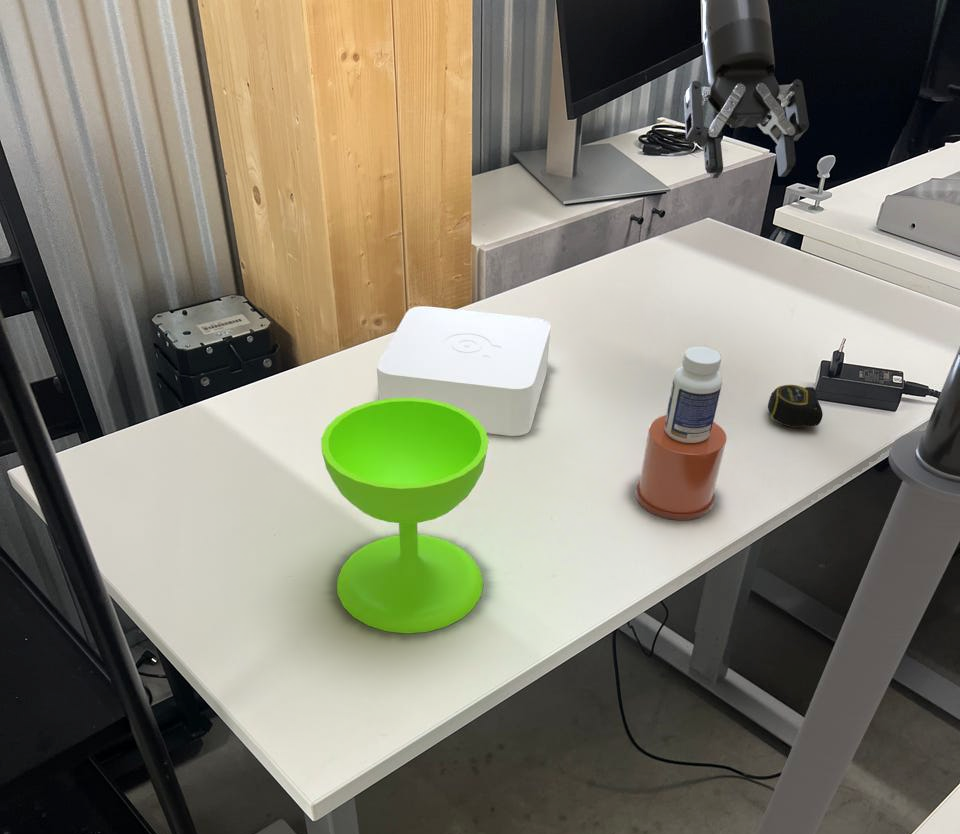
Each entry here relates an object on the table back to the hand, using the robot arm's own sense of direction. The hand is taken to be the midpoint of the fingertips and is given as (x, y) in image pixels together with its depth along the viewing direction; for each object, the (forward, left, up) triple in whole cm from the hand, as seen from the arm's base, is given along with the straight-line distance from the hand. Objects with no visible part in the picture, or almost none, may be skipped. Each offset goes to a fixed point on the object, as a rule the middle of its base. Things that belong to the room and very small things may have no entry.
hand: (751, 174), depth 108 cm
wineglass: (-13, +53, -31) cm, 63 cm away
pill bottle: (-15, +17, -22) cm, 32 cm away
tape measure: (-9, -10, -31) cm, 33 cm away
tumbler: (-15, +17, -31) cm, 38 cm away
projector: (+20, +26, -31) cm, 45 cm away
